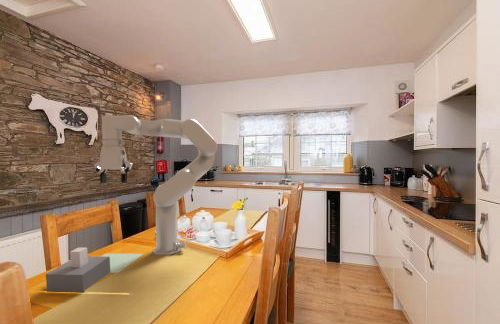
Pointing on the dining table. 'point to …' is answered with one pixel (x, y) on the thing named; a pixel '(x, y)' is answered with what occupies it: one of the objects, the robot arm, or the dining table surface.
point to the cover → (78, 272)
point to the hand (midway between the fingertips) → (113, 182)
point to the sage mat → (120, 261)
